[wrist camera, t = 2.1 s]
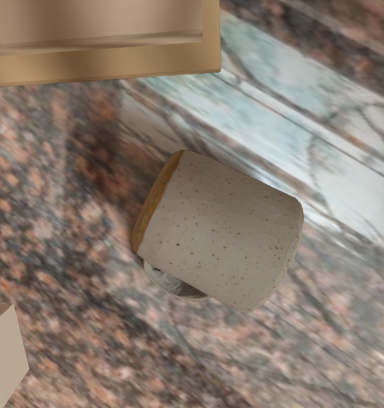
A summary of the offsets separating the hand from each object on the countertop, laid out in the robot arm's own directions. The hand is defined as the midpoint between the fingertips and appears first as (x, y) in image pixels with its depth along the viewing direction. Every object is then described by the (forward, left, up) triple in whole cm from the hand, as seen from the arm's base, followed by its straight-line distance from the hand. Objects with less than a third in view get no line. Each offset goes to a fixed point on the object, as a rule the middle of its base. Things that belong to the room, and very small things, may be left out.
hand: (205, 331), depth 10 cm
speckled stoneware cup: (0, +1, -13) cm, 13 cm away
